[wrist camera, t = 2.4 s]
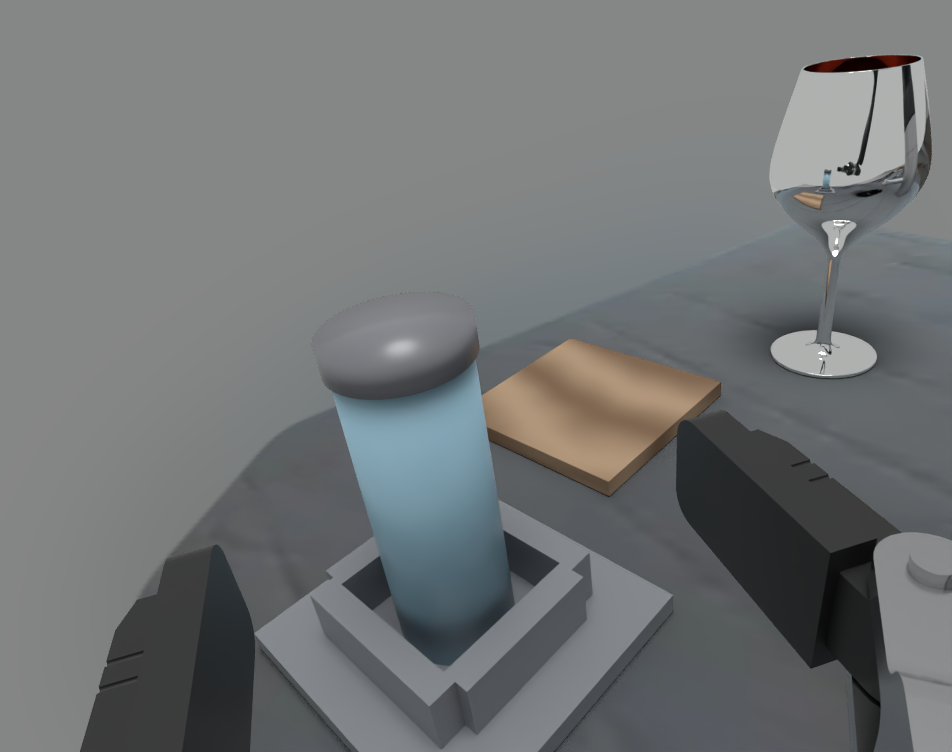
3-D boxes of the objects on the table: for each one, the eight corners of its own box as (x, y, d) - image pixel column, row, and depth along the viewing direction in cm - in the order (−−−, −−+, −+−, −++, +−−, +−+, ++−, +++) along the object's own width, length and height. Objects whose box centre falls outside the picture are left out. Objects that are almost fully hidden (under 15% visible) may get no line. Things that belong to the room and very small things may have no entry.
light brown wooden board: (571, 350, 50) (570, 338, 49) (720, 395, 42) (721, 382, 41) (457, 425, 43) (455, 412, 43) (609, 496, 35) (608, 481, 35)
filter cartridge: (460, 550, 32) (404, 281, 25) (546, 606, 28) (508, 310, 21) (372, 622, 29) (281, 339, 22) (455, 695, 25) (376, 383, 18)
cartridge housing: (466, 494, 37) (456, 443, 35) (672, 611, 28) (673, 551, 27) (260, 648, 30) (236, 594, 28) (454, 869, 21) (435, 811, 19)
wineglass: (882, 396, 39) (946, 69, 30) (741, 373, 44) (760, 81, 35) (899, 337, 45) (957, 46, 36) (772, 321, 49) (795, 58, 41)
